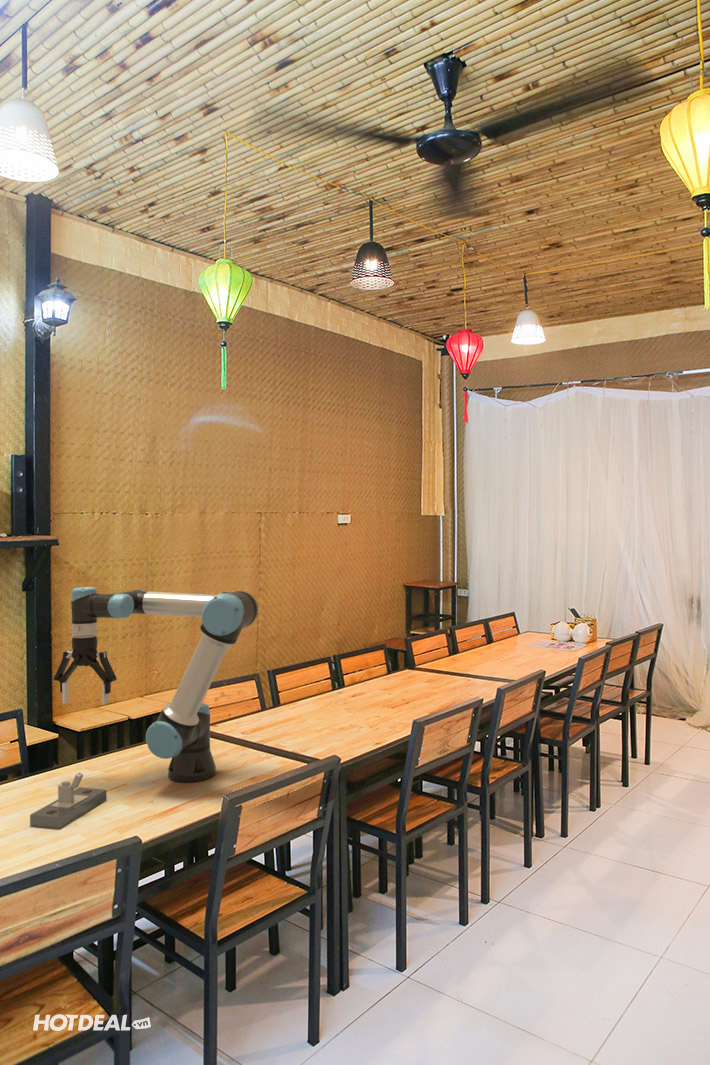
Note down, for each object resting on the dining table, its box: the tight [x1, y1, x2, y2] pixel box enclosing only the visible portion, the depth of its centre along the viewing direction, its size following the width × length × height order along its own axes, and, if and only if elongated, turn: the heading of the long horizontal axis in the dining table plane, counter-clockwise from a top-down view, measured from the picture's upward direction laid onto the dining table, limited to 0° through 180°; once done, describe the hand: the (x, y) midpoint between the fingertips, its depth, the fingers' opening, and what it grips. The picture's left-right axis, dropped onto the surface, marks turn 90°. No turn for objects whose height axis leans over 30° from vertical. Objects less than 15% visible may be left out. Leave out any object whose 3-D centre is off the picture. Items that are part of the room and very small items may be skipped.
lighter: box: [57, 771, 84, 802], centre depth 209 cm, size 7×2×8 cm, turn 76°
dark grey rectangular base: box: [29, 786, 108, 830], centre depth 209 cm, size 9×22×3 cm, turn 166°
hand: (85, 703), depth 234 cm, fingers open, 13 cm apart
